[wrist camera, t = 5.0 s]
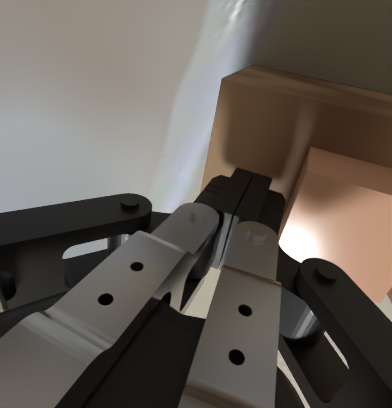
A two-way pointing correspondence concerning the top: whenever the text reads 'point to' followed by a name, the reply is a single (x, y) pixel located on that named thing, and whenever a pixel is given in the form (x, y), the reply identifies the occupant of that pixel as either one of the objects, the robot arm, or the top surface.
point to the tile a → (343, 219)
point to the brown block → (293, 125)
